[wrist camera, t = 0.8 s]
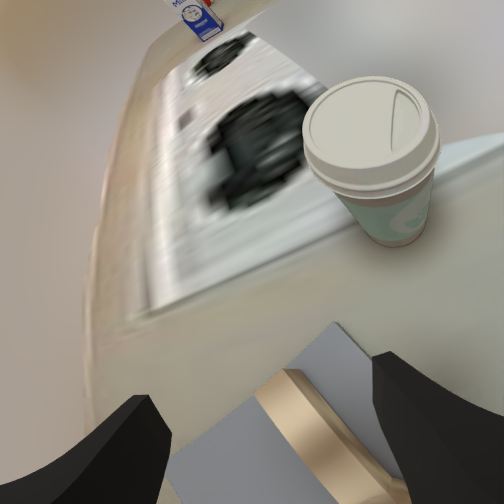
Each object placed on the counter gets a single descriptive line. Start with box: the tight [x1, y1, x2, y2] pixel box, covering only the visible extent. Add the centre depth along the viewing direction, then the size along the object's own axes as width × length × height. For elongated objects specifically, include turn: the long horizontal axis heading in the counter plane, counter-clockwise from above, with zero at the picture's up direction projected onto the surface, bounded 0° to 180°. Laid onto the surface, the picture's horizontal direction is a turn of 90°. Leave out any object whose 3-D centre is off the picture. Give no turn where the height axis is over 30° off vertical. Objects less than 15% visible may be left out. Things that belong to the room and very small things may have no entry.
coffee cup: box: [302, 76, 442, 247], centre depth 18 cm, size 9×8×12 cm
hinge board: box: [165, 321, 404, 504], centre depth 18 cm, size 18×24×1 cm
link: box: [253, 369, 412, 504], centre depth 16 cm, size 16×4×3 cm, turn 38°
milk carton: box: [163, 0, 224, 42], centre depth 59 cm, size 7×7×20 cm
